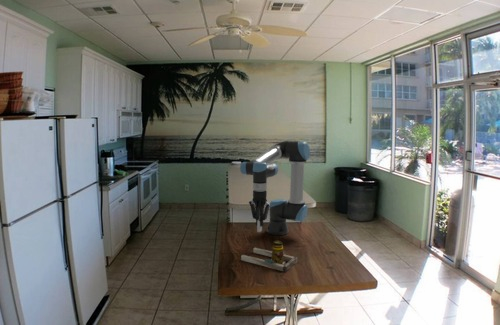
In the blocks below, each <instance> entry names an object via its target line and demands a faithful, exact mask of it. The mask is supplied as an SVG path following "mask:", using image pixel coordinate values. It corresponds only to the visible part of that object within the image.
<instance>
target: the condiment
mask: <svg viewBox="0 0 500 325" xmlns="http://www.w3.org/2000/svg"><path fill="white" fill-rule="evenodd" d="M283 245H284V244H283V241H281V240H275V241H273V242H272V248H271V251H272V257H271V259H270V260H272V261H274V263H278V264H282V265H285V264H286V261H285V260H283V253H284V246H283Z"/></svg>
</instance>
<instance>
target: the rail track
mask: <svg viewBox="0 0 500 325" xmlns="http://www.w3.org/2000/svg"><path fill="white" fill-rule="evenodd" d="M252 253H254V254H258V255H261V256H265V257H269V258H272V250H267V249H264V248H259V247H254V248H253V249H252ZM240 260H241V261H243V262H246V263H251V264H255V265H258V266H262V267H266V268H268V269H273V270H277V271H280V272H284V273H286V272H288V271H289V270H290V269H291V268H292V267H293V266H294V265H295V264H297V262H298V257H297V256H293V255H287V254H285V252H283V261H284V262H287V263H284V264H283V265H282V264H278V263H274V261H272V260H271V259H267V258H266V259H261V258H258V257H254V256H249V255H246V254H241V256H240Z"/></svg>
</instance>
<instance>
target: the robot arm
mask: <svg viewBox="0 0 500 325" xmlns="http://www.w3.org/2000/svg"><path fill="white" fill-rule="evenodd" d="M310 156H311V149H310V145H309V144H308V143H307V142H306V141H300V140H299V141H298V140H297V141H295V140H291V141H289V140H283V141H280V142H277V143H275V144H273V145H271V146H270V148H269V149H268V150H267V151H265V152H263V153H261V154H260V155H259V156H257V157H255V158H254V159H252V160H250V161H243V162H241V164H240V166H239V170H240V173H241V174H242V175H246V176H252V190H253V191H252V196H253V198H252V200H250V201H249V202H248V204H249V206H250V210H251V215H252V219H254V220H255V225H256V228H257V229H256V232H257V233H261V232H263V226H264V221H265V220H267V219H268V213H269V222H268V224H267V227H266V233H268V234H270V235H273V236H284V235H287V234H288V233H289V227H288V224H287V220H289V221H293V222H299V223H301V222H304V221H305V220H306V218H307V215H308V212H309V206H308V205H307V204H306V201H305V199H303V198H304V177H305V176H304V174H305V171H304V170H305V169H304V168H305V164H306V162H307V160H309V158H310ZM279 159H288V162H289V163H290V185H289V186H290V187H289V189H290V191H289V199H285V198H279V199H278V198H277V199H273V200H271V201H270V203H269V202H268V199H267V193H268V192H267V189H268V188H267V184H268V183H267V179H268V178H272V177H274V176H276V175H277V174H278V172H279V167H278V166H277V164H276V163H274V162H273V161H275V160H279Z"/></svg>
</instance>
